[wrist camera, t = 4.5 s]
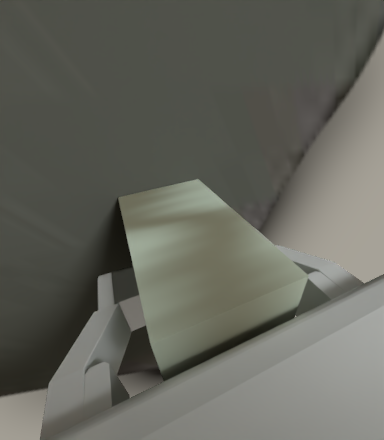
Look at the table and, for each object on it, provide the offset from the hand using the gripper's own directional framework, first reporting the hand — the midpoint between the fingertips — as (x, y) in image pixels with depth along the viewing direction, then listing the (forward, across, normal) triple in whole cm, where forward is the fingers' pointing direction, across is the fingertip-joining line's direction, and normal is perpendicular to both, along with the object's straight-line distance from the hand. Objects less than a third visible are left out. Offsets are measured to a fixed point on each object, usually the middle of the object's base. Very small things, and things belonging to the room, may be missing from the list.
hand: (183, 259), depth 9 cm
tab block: (+3, 0, 0) cm, 3 cm away
